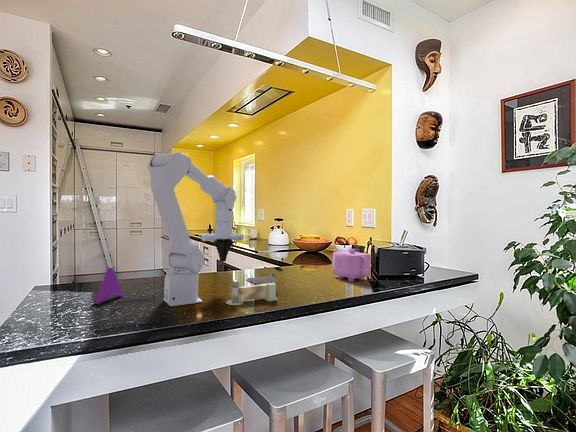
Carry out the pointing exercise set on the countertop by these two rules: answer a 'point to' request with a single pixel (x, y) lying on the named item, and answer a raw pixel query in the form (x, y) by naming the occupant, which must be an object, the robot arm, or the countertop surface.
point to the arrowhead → (109, 287)
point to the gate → (252, 292)
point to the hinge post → (234, 294)
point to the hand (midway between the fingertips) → (222, 261)
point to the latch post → (271, 292)
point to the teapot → (351, 264)
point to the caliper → (264, 279)
